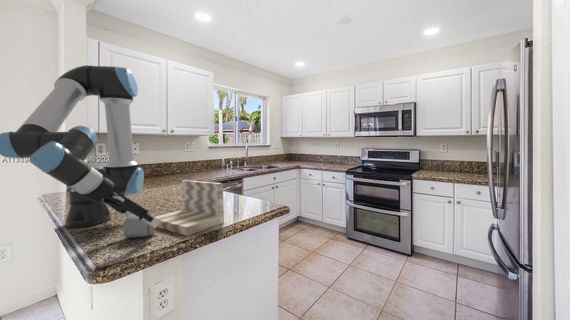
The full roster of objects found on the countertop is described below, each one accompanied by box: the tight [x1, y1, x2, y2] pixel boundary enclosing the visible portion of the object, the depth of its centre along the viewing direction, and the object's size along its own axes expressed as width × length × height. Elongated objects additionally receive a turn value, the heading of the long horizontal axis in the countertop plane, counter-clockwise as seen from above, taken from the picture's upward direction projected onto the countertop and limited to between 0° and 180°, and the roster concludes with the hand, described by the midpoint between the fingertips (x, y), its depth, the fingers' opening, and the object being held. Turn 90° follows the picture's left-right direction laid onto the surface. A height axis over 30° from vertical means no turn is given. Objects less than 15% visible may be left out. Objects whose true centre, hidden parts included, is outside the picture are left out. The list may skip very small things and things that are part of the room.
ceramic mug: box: [123, 215, 156, 239], centre depth 86 cm, size 11×8×8 cm
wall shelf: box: [154, 179, 225, 237], centre depth 97 cm, size 24×17×16 cm
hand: (149, 222), depth 87 cm, fingers closed on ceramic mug, 10 cm apart
